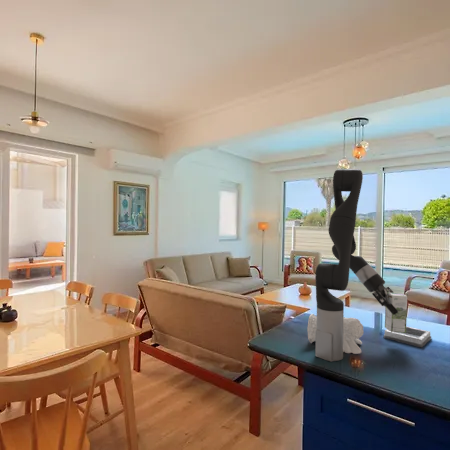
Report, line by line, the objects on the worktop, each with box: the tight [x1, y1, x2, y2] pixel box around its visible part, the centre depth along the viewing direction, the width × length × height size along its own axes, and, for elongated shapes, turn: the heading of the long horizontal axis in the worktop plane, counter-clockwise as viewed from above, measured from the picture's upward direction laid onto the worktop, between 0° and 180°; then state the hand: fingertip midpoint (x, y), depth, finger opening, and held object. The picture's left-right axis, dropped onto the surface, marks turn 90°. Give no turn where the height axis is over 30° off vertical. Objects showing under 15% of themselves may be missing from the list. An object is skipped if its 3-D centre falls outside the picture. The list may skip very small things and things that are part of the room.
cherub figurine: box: [306, 313, 365, 355], centre depth 120 cm, size 13×12×20 cm
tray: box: [383, 325, 432, 348], centre depth 128 cm, size 14×14×3 cm
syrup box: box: [384, 292, 408, 333], centre depth 120 cm, size 6×6×14 cm
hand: (399, 311), depth 119 cm, fingers closed on syrup box, 8 cm apart
